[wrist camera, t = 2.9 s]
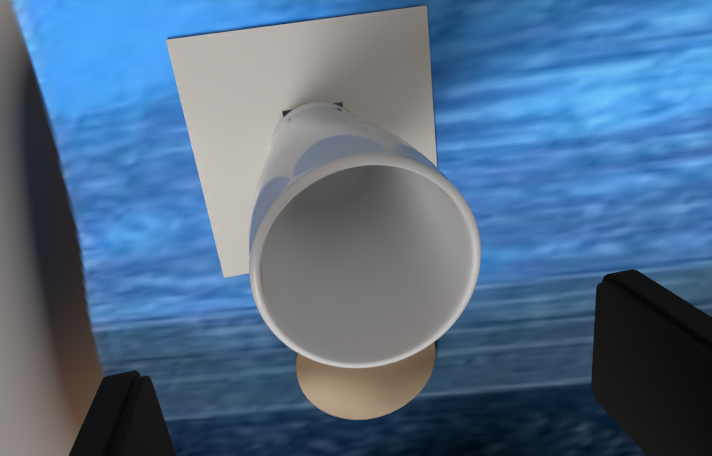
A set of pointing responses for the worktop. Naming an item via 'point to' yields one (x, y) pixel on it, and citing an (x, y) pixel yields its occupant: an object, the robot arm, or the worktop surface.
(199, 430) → the worktop surface
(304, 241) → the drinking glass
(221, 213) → the tile
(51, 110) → the worktop surface
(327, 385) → the cork coaster
